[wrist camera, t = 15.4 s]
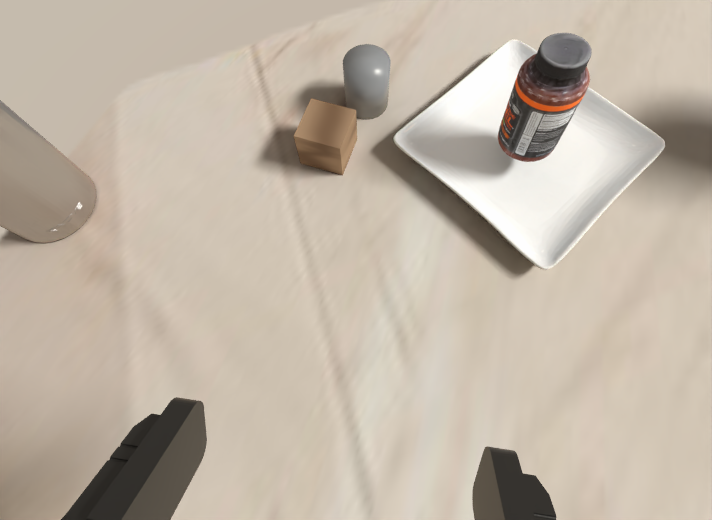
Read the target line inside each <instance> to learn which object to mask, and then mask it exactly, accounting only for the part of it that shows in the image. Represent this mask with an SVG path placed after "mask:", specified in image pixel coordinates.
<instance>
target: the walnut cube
mask: <svg viewBox="0 0 712 520" xmlns="http://www.w3.org/2000/svg"><path fill="white" fill-rule="evenodd" d="M294 139H295V143H296V147H297V151H298V155H299V159H300V162H301V164H305V165H308V166H312V167H315V168H319V169H322V170H326V171H329V172H333V173H336V174H340V175H343V173H344V171H345V168H346V166H347V163H348V161H349V158H350V156H351V153H352V151H353V148H354V146H355V143H356V141H357V121H356V110H354V109H351V108H347V107H343V106H339V105H335V104H331V103H328V102H324V101H320V100H316V99H312V98H311V100H310V102H309V104H308V106H307V108H306V110H305V113H304V115H303V117H302V119H301V121H300V123H299V126H298V128H297V130H296V132H295V134H294Z"/></svg>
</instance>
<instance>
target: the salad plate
mask: <svg viewBox="0 0 712 520" xmlns="http://www.w3.org/2000/svg"><path fill="white" fill-rule="evenodd" d="M537 52H538V51H536V50H535V49H533V48H532V47H530V46H529V45H527V44H525V43H523V42H521V41H519V40H515V39H513V40H510V41H508V42H507V43H505V44H504V45H502V46H501V47H500V48H499V49H497V50H496V51H495V52H494V53H493V54H491V55H490V56H489V57H488V58H487V59H486V60H485V61H483V62H482V63H481V64H480V65H479V66H478V67H477V68H475V69H474V70H473V71H472V72H471V73H470V74H468V75H467V76H466V77H465V78H464V79H463V80H461V81H460V82H459V83H458V84H457V85H455V86H454V87H453V88H452V89H450V90H449V91H448V92H447V93H445V94H444V95H443V96H442V97H441V98H439V99H438V100H437V101H435V102H434V103H433V104H432V105H430V106H429V107H428V108H427V109H425V110H424V111H423V112H421V113H420V114H419V115H418V116H416V117H415V118H414V119H413V120H411V121H410V122H409V123H408V124H406V125H405V126H404V127H403V128H402V129H400V130H399V131H398V132H397V133H396V134H395V135H394V137H393V140H394V143H395V144H396V146H397V147H398V148H400V149H401V150H402V151H403V152H404V153H405V154H407V155H408V156H409V157H411V158H412V159H413V160H415V161H416V162H417V163H418V164H420V165H421V166H422V167H424V168H425V169H426V170H427V171H429V172H430V173H431V174H433V175H434V176H435V177H436V178H438V179H439V180H440V181H441V182H443V183H444V184H445V185H446V186H447V187H449V188H450V189H451V190H452V191H454V192H455V193H456V194H457V195H458V196H459V197H461V198H462V199H463V200H464V201H465V202H466V203H468V204H469V205H470V206H471V207H472V208H473V209H474V210H476V211H477V212H478V213H479V214H480V215H481V216H482V217H483V218H484V219H485V220H487V221H488V222H489V223H490V224H491V225H492V226H493V227H494V228H495V229H496V230H497V231H498V232H499V233H500V234H501V235H502V236H503V237H504V238H505V239H506V240H507V241H508V242H509V243H510V244H511V245H513V246H514V247H515V248H516V249H517V250H518V251H519V252H520V253H521V254H522V255H523V256H525V257H526V258H527V259H528V260H529V261H530V262H532V263H533V264H534V265H536V266H537V267H539V268H541V269H545V270H547V269H550V268H553V267H554V266H555V265H556V264H558V263H559V262H560V261H561V260H562V259H563V257H565V256H566V255H567V254H568V252H569V251H570V250H571V249H572V248H573V247H574V246H575V244H576V243H577V242H578V241H579V240H580V239H581V238H582V236H583V235H584V234H585V233H586V232H587V231H588V229H589V228H590V227H591V226H592V225H593V224H594V223H595V221H596V220H597V219H598V218H599V217H600V216H601V215H602V214H603V212H604V211H605V210H606V209H607V208H608V207H609V206H610V204H611V203H612V202H613V201H614V200H615V199H616V198H617V197H618V196H619V195H620V194H621V193H622V192H623V191H624V190H625V189H626V188H627V187H628V186H629V185H630V184H631V183H632V182H633V181H634V180H635V179H636V178H637V177H638V176H639V175H640V174H641V173H642V172H643V171H644V170H645V169H646V168H647V167H648V166H649V165H650V164H651V163H652V162H653V161H654V160H655V159H656V158H657V157H658V156H659V155H660V153H661V152H662V151H663V149H664V147H665V142H664V140H663V139H662V138H661V137H660V136H659V135H657V134H656V133H655V132H653V131H652V130H651V129H649V128H648V127H646V126H645V125H643V124H642V123H640V122H639V121H637V120H636V119H634V118H633V117H632V116H630V115H629V114H627V113H626V112H624V111H623V110H621V109H620V108H618V107H617V106H616V105H614V104H613V103H611V102H610V101H608V100H607V99H605V98H604V97H602V96H601V95H600V94H598V93H597V92H595V91H594V90H592V89H591V88H589V87H588V88H587V91H586V93H585V95H584V96H583V98H582V100H581V102H580V104H579V106H578V107H577V109H576V111H575V113H574V115H573V117H572V118H571V120H570V122H569V124H568V126H567V127H566V129H565V131H564V133H563V135H562V136H561V138H560V140H559V142H558V144H557V145H556V147H555V148H554V150H553V151H552V152H551V153H550V155H549V156H547V157H546V158H544V159H542V160H538V161H534V162H524V161H519V160H516V159H514V158H512V157H510V156H508V155H507V154H506V153H505V152H504V151H503V150H502V148H501V147H500V145H499V142H498V132H499V128H500V125H501V121H502V119H503V116H504V113H505V110H506V107H507V104H508V101H509V98H510V95H511V92H512V89H513V86H514V83H515V80H516V78H517V75H518V72H519V70H520V68H521V66H522V65H523V63H524V62H525V61H526V60H527V59H528V58H530V57H531V56H533V55H534V54H537Z"/></svg>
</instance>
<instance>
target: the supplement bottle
mask: <svg viewBox="0 0 712 520" xmlns="http://www.w3.org/2000/svg"><path fill="white" fill-rule="evenodd" d="M590 57H591V47H590V45H589V44H588V42H587V41H585V39H583V38H582V37H579V36H577V35H575V34H571V33H557V34H553V35H550V36H548V37H547V38H545V39H544V40H543V41H542V43H541V45H540V47H539V50H538V52H537V54H534V55H533V56H531V57H530V58H528V59H527V60H526V61H525V62H524V63H523V65H522V66H521V68H520V70H519V72H518V75H517V78H516V80H515V83H514V86H513V89H512V92H511V95H510V98H509V101H508V104H507V107H506V110H505V113H504V116H503V119H502V121H501V125H500V128H499V132H498V142H499V145H500V147H501V148H502V150H503V151H504V152H505V153H506V154H507V155H508V156H510V157H512V158H514V159H516V160H519V161H524V162H534V161H538V160H542V159H544V158H546V157H547V156H549V155H550V153H551V152H552V151H553V150H554V148H555V147H556V145H557V144H558V142H559V140H560V138H561V136H562V135H563V133H564V131H565V129H566V127H567V126H568V124H569V122H570V120H571V118H572V117H573V115H574V113H575V111H576V109H577V107H578V106H579V104H580V102H581V100H582V98H583V96H584V95H585V93H586V91H587V88H588V85H589V81H590V77H589V71H588V69H587V67H586V66H587V63H588V61H589V59H590Z"/></svg>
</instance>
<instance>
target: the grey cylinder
mask: <svg viewBox="0 0 712 520" xmlns="http://www.w3.org/2000/svg"><path fill="white" fill-rule="evenodd" d="M343 70H344V86H345V102H346V107H347V108H351V109H354V110H356V117H357V118H360V119H373V118H376V117H378V116H380V115H381V114H382V113H383V112H384V111H385V110H386V107H387V103H388V89H389V76H390V57H389V55H388V54H387V52H386V51H385V50H383V49H382V48H380V47H378V46H375V45H369V44H365V45H359V46H356V47H354V48H352V49H351V50H349V51H348V52H347V53H346V55H345V57H344V60H343Z"/></svg>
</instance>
